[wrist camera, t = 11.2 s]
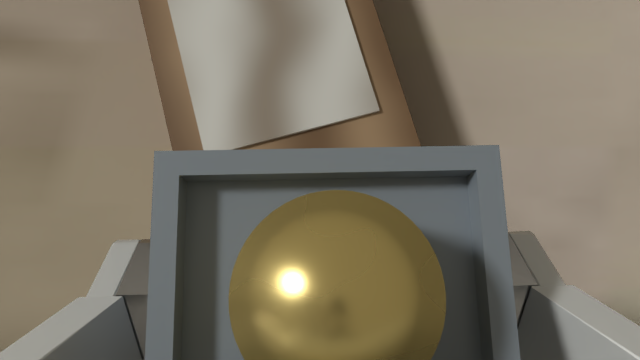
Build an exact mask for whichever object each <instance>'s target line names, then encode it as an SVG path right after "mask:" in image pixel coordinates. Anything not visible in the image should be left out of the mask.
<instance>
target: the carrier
mask: <svg viewBox="0 0 640 360" xmlns="http://www.w3.org/2000/svg"><path fill="white" fill-rule="evenodd" d="M326 190H347V191H354V192H359V193H364V194H367V195H370V196H373V197H376V198H378V199H381V200H383V201H385V202H387V203H389V204H390V205H392V206H394V207H395V208H397V209H398V210H400V211H401V212H402V213H403V214H405V215H406V216H407V217H408V218H409V219H411V220H412V221H413V222H414V224H415V225H416V226H417V227H418V228H419V229H420V230H421V231H422V233H423V234H424V236H425V237H426V238H427V240H428V241H429V243H430V245H431V247H432V248H433V250H434V252H435V254H436V256H437V259H438V262H439V264H440V267H441V270H442V274H443V278H444V282H445V291H446V315H445V322H444V328H443V331H442V335H441V338H440V341H439V344H438V346H437V349H436V351H435V353H434V355H433V357H432V359H431V360H521V359H520V349H519V339H518V329H517V319H516V309H515V299H514V289H513V279H512V270H511V260H510V250H509V240H508V230H507V220H506V210H505V200H504V190H503V180H502V171H501V161H500V151H499V145H478V146H420V147H363V148H305V149H248V150H190V151H154V172H153V194H152V215H151V236H150V258H149V279H148V301H147V322H146V343H145V360H244V358H243V356H242V355H241V352H240V350H239V348H238V346H237V343H236V341H235V338H234V334H233V331H232V328H231V322H230V316H229V298H228V297H229V287H230V280H231V276H232V271H233V268H234V265H235V262H236V259H237V257H238V254H239V252H240V250H241V248H242V247H243V245H244V243H245V241H246V240H247V238H248V237H249V235H250V234H251V233H252V231H253V230H254V229H255V228H256V227H257V225H258V224H259V223H260V222H261V221H262V220H263V219H264V218H265V217H267V216H268V215H269V214H270V213H271V212H272V211H274V210H275V209H277V208H278V207H280V206H282V205H283V204H285V203H287V202H289V201H291V200H293V199H295V198H297V197H300V196H303V195H306V194H309V193H314V192H319V191H326Z"/></svg>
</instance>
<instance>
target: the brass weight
mask: <svg viewBox="0 0 640 360" xmlns="http://www.w3.org/2000/svg"><path fill="white" fill-rule="evenodd" d="M228 298H229V316H230V322H231V328H232V331H233V334H234V338H235V341H236V343H237V346H238V348H239V350H240V352H241V355H242V356H243V358H244V360H431V359H432V357H433V355H434V353H435V351H436V349H437V346H438V344H439V341H440V338H441V335H442V331H443V328H444V322H445V315H446V291H445V282H444V278H443V274H442V270H441V267H440V264H439V262H438V259H437V256H436V254H435V252H434V250H433V248H432V247H431V245H430V243H429V241H428V240H427V238H426V237H425V236H424V234H423V233H422V231H421V230H420V229H419V228H418V227H417V226H416V225H415V224H414V222H413V221H412V220H411V219H409V218H408V217H407V216H406V215H405V214H403V213H402V212H401V211H400V210H398V209H397V208H395V207H394V206H392V205H390V204H389V203H387V202H385V201H383V200H381V199H378V198H376V197H373V196H370V195H367V194H364V193H359V192H354V191H347V190H326V191H319V192H314V193H309V194H306V195H303V196H300V197H297V198H295V199H293V200H291V201H289V202H287V203H285V204H283V205H282V206H280V207H278V208H277V209H275V210H274V211H272V212H271V213H270V214H269V215H268V216H267V217H265V218H264V219H263V220H262V221H261V222H260V223H259V224H258V225H257V227H256V228H255V229H254V230H253V231H252V233H251V234H250V235H249V237H248V238H247V240H246V241H245V243H244V245H243V247H242V248H241V250H240V252H239V254H238V257H237V259H236V262H235V265H234V268H233V271H232V276H231V280H230V287H229V297H228Z"/></svg>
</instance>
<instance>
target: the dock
mask: <svg viewBox="0 0 640 360" xmlns="http://www.w3.org/2000/svg"><path fill="white" fill-rule="evenodd" d="M139 5H140V9H141V14H142V18H143V22H144V27H145V31H146V36H147V40H148V44H149V49H150V53H151V58H152V62H153V66H154V71H155V75H156V79H157V84H158V88H159V93H160V97H161V101H162V106H163V110H164V115H165V119H166V123H167V128H168V132H169V136H170V141H171V145H172V150H173V151H190V150H248V149H305V148H363V147H420V146H421V144H420V141H419V138H418V135H417V132H416V129H415V126H414V123H413V120H412V117H411V114H410V111H409V108H408V105H407V102H406V99H405V96H404V93H403V90H402V87H401V84H400V81H399V78H398V75H397V72H396V69H395V66H394V63H393V60H392V57H391V54H390V51H389V48H388V45H387V42H386V39H385V36H384V33H383V30H382V27H381V24H380V21H379V18H378V15H377V12H376V9H375V6H374V3H373V0H139Z"/></svg>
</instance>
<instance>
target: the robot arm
mask: <svg viewBox="0 0 640 360" xmlns="http://www.w3.org/2000/svg"><path fill="white" fill-rule="evenodd" d="M508 240H509V250H510V260H511V270H512V279H513V289H514V299H515V309H516V319H517V329H518V339H519V349H520V359H521V360H640V326H639V325H637V324H635V323H634V322H632V321H631V320H629V319H627V318H626V317H624V316H622V315H621V314H619V313H618V312H616V311H614V310H613V309H611V308H609V307H608V306H606V305H605V304H603V303H601V302H600V301H598V300H596V299H595V298H593V297H592V296H590V295H588V294H587V293H585V292H583V291H582V290H580V289H579V288H577V287H575V286H574V285H566V284H565V283H564V281H563V280H562V278H561V276H560V275H559V273H558V272H557V270H556V268H555V267H554V265H553V264H552V262H551V260H550V259H549V257H548V256H547V254H546V253H545V251H544V249H543V248H542V246H541V245H540V243H539V241H538V240H537V238H536V237H535V235H534V234H533V233H532V232H530V231H515V232H508ZM149 258H150V239H142V240H117V241H115V242H114V243H113V244H112V246H111V248H110V250H109V252H108V254H107V256H106V258H105V260H104V262H103V264H102V266H101V268H100V270H99V272H98V274H97V276H96V278H95V280H94V282H93V284H92V286H91V288H90V290H89V292H88V294H87V296H86V297H78V298H77V299H75V300H74V301H73V302H71V303H70V304H68V305H67V306H65V307H64V308H63V309H61V310H60V311H58V312H57V313H56V314H54V315H53V316H51V317H50V318H48V319H47V320H46V321H44V322H43V323H41V324H40V325H39V326H37V327H36V328H34V329H33V330H31V331H30V332H29V333H27V334H26V335H24V336H23V337H22V338H20V339H19V340H17V341H16V342H14V343H13V344H12V345H10V346H9V347H7V348H6V349H5V350H3V351H2V352H0V360H145V343H146V322H147V301H148V279H149Z"/></svg>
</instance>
